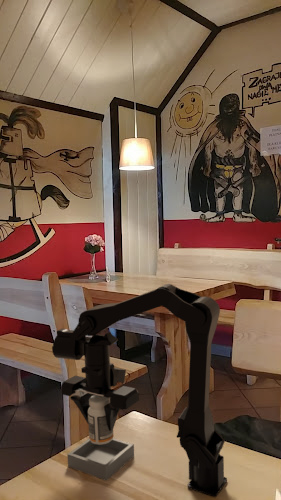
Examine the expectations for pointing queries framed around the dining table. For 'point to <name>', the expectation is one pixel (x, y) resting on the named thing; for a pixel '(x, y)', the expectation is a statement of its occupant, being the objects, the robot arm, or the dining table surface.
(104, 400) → the pill bottle
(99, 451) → the tray
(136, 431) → the dining table surface
